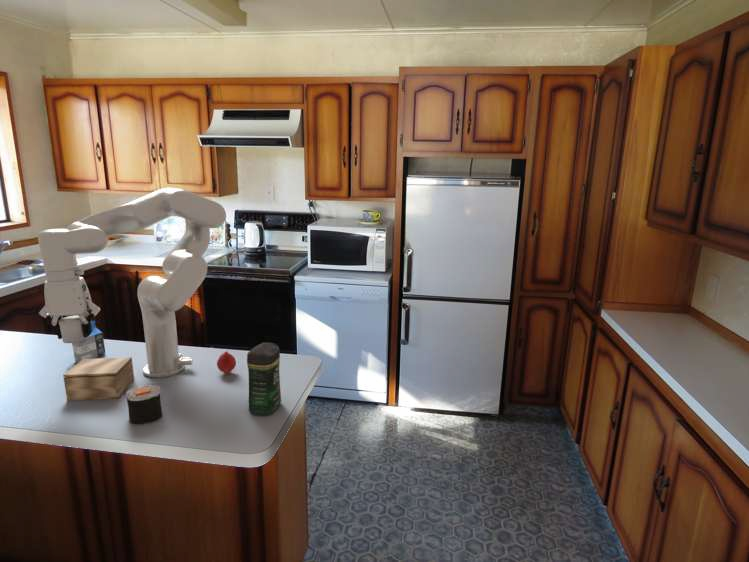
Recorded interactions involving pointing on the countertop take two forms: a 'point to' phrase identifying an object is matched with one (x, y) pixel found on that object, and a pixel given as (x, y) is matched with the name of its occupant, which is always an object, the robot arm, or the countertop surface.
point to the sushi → (144, 404)
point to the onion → (226, 362)
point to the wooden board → (98, 367)
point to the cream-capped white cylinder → (71, 329)
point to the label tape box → (90, 345)
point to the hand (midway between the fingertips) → (75, 335)
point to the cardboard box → (99, 385)
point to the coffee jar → (264, 378)
